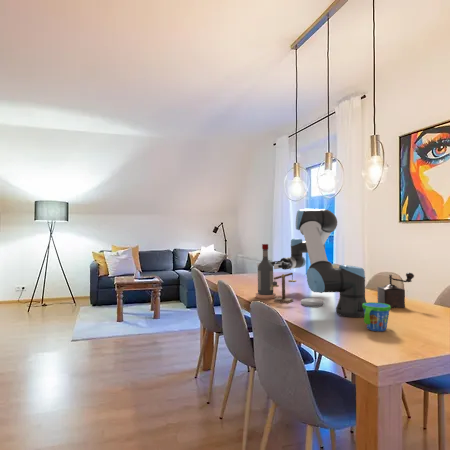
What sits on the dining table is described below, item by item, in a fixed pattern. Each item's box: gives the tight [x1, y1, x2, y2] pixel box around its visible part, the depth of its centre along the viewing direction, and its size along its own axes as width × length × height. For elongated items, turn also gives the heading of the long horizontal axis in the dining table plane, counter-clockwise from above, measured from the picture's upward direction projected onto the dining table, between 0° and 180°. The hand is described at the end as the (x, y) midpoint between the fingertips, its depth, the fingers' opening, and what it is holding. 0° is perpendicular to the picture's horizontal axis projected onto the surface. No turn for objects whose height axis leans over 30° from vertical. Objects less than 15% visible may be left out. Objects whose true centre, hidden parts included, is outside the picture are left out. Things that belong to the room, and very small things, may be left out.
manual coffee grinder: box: [376, 272, 415, 309], centre depth 190 cm, size 16×11×18 cm
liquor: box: [257, 243, 274, 295], centre depth 217 cm, size 9×9×30 cm
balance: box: [271, 272, 297, 304], centre depth 204 cm, size 15×6×17 cm, turn 57°
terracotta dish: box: [255, 292, 277, 300], centre depth 217 cm, size 12×12×2 cm
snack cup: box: [362, 302, 391, 332], centre depth 147 cm, size 16×10×10 cm
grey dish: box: [300, 297, 325, 308], centre depth 196 cm, size 12×12×2 cm
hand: (265, 265), depth 218 cm, fingers open, 13 cm apart
